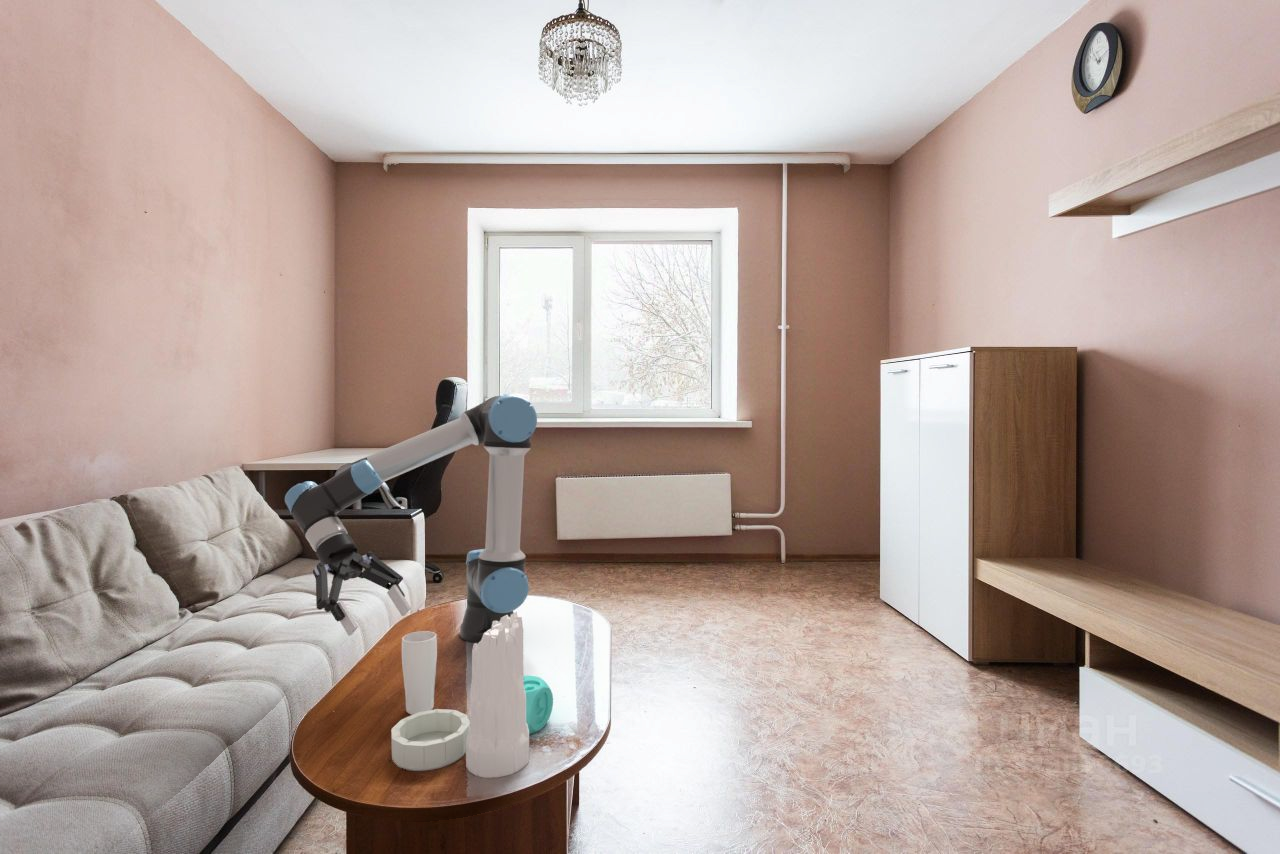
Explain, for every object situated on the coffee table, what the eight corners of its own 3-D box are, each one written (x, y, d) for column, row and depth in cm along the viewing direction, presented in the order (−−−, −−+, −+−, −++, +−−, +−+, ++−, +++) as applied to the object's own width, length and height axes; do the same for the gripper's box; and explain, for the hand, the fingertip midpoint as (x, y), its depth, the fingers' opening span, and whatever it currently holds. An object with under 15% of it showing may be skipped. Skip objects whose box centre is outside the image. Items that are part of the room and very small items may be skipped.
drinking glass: (395, 710, 127) (395, 636, 127) (427, 699, 132) (426, 628, 132) (412, 721, 123) (411, 644, 122) (443, 709, 128) (443, 636, 127)
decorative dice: (520, 711, 127) (519, 672, 127) (553, 720, 123) (553, 679, 123) (494, 729, 120) (494, 688, 119) (529, 739, 116) (529, 696, 116)
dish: (439, 725, 121) (439, 703, 121) (484, 746, 113) (484, 722, 113) (376, 754, 111) (376, 730, 111) (421, 780, 103) (421, 753, 103)
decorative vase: (470, 783, 102) (470, 630, 101) (461, 751, 112) (460, 611, 111) (536, 768, 106) (536, 621, 106) (522, 739, 116) (521, 603, 116)
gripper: (370, 543, 150) (417, 615, 144) (269, 565, 128) (319, 651, 122) (386, 523, 148) (434, 595, 142) (285, 542, 126) (337, 628, 119)
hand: (381, 621), depth 132 cm, fingers open, 13 cm apart
